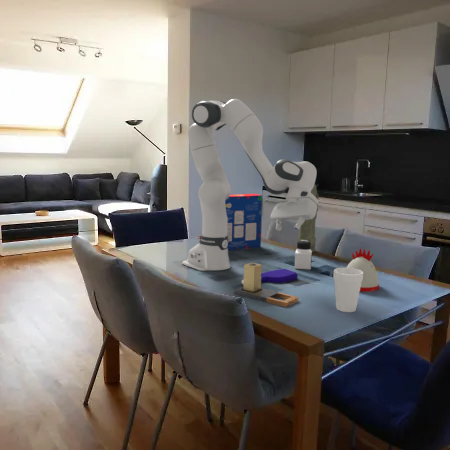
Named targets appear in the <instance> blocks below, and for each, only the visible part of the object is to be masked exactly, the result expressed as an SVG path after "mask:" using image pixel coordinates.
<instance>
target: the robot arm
mask: <svg viewBox="0 0 450 450" xmlns="http://www.w3.org/2000/svg"><path fill="white" fill-rule="evenodd" d="M191 118H192V121H193V122H194V123H193V124H191V125H190V126H189V128H188V129H187V131H188V135H187V136H188V142H189V147H190V151H191V155H192V159H193V163H194V167H195V170H196V171H197V173H198V175H199V176H200V178H201V181H202V184H201V185H200V187H199V189H198V192H197V196H198V200H199V205H200V212H201V217H202V219H201V220H202V223H201V227H202V228H201V229H202V230H201V231H202V232H201V233H202V234H201V235H200V236H197V240H199V243H197V244H196V245H195V246H193V247H191V248H190V249H189V250H188V253H187V259H184V260H183V261H182V263H181V264H182V265H184V266H186V267H189V268H193V269H195V270H197V271H200V272H201V271H202V272H203V271H204V272H205V271H224V270H228V269H230V268H231V267H232V266H231V262H230V258H229V251H228V235H227V224H228V218H227V214H226V207H225V200H227V199H228V198H229V196H230V195H231V192H232V187H231V184H230V182H229V180H228V177H227V174H226V172H225V169H224V167H223V165H222V162H221V158H220V155H219V151H218V147H217V142H216V139H215V135H214V133H215V131H219V130H220V129H221V128H223V127H224V126H226V125H227V126H228V127H229V128H230V130H232V132H233V133H234V135H235V136H236V137H237V138H238V141H239V142H240V144H241V145H242V147H243V149H244V152H245V154H246V156H247V157H248V159H249V161H250V162H251V163H252V164H253V167H254V168H255V169H256V171H257V172H258V174H259V176H260V177H261V180H262V183H263V185H264V188H265V189H266V191H268V192H269V193H271V194H272V195H275V196H276V195H277V196H278V195H282V194H284V193H285V192H286V190H287V189H288V190H287V194H286V197H285V200H280V201H279V202H278V203H276V204H275V206H274V207H273V209H272V211H271V213H270V217H269V218H270V220H271V221H273V222H274V223H275V230H276V231H280V232H281V231H282V228H283V226H281V225H282V224H283V223H284V222H294V221H297V222H295V223H294V226H293V229H295V230H300V226H301V225H302V224H303V223H304V222H305V220H308V219H313V218H314V217H315V214H316V211H317V204H318V205H319V202H320V201H319V198H318V199H317V198H316V197H315V196H314V195H313V194H312V193H311V190H312V189H313V187H314V184H315V183H316V179H317V175H318V174H317V168H316V167H315V165H314V164H312V163H311V162H309V161H293V160H290V159H288V158H284V159H283V158H282V159H279V160H278V161H277V162H276V163H275V164H274V166H273V165H272V163H271V162H270V160H269V159H268V157H267V156H266V154H265V152H264V149H263V136H264V127H263V125H262V122H261V121H260V119H259V118H258V117H257V115H256V114H255V113H254V112H253V111H252V110H251V108H249V107H248V105H246V104H245V103H244V101H241V100H240V99H238V98H232V99H230V100H228V101H227V102H225V101H222V100H215V99H214V100H213V99H211V100H202V101H199V102H198V103H196V104H195V105H194V106H193V107H192V111H191ZM315 185H316V184H315ZM317 212H318V211H317Z"/></svg>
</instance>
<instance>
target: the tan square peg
mask: <svg viewBox="0 0 450 450" xmlns="http://www.w3.org/2000/svg"><path fill="white" fill-rule="evenodd" d="M261 273H262V264H259V263H255V262H249V263H246V264H244V265H243V280H244V284H243V286H244V291H246V292H250V293H257V292H259V291H261V288H262V282H261Z"/></svg>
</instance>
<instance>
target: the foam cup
mask: <svg viewBox="0 0 450 450" xmlns="http://www.w3.org/2000/svg"><path fill="white" fill-rule="evenodd" d="M333 280H334V281H333V283H334V293H335V306H336V309H337V310H338V311H339V310H340V312H343V313H353V312H356V310H357V306H358V301H359V296H360V292H361V291H360V287H361V282H362V280H363V272H362V271H361V270H358V269H354V268H346V267H337V268H335V269H334V270H333Z"/></svg>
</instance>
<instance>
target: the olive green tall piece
mask: <svg viewBox="0 0 450 450" xmlns="http://www.w3.org/2000/svg"><path fill="white" fill-rule="evenodd" d="M311 193H312V194H313V195H314V196H315V197H316V198H317V199H318V200H319V194H318V190H317V186H316V184H314V187H313V189H312V190H311ZM318 211H319V203H318V204H317V211H316V214H315V217H314V218H313V219H308V220H305V222H304V223H303V224H302V225H301V226H300V229H298V230H299V235H298V237H297V242H298V241H301V240H305V241H309V242H311V250H310V251H312V252H313V253H315V252H316V250H315V249H316V242H317V241H316V239H317V238H316V235H315V234H316V220H317V215H318Z"/></svg>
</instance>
